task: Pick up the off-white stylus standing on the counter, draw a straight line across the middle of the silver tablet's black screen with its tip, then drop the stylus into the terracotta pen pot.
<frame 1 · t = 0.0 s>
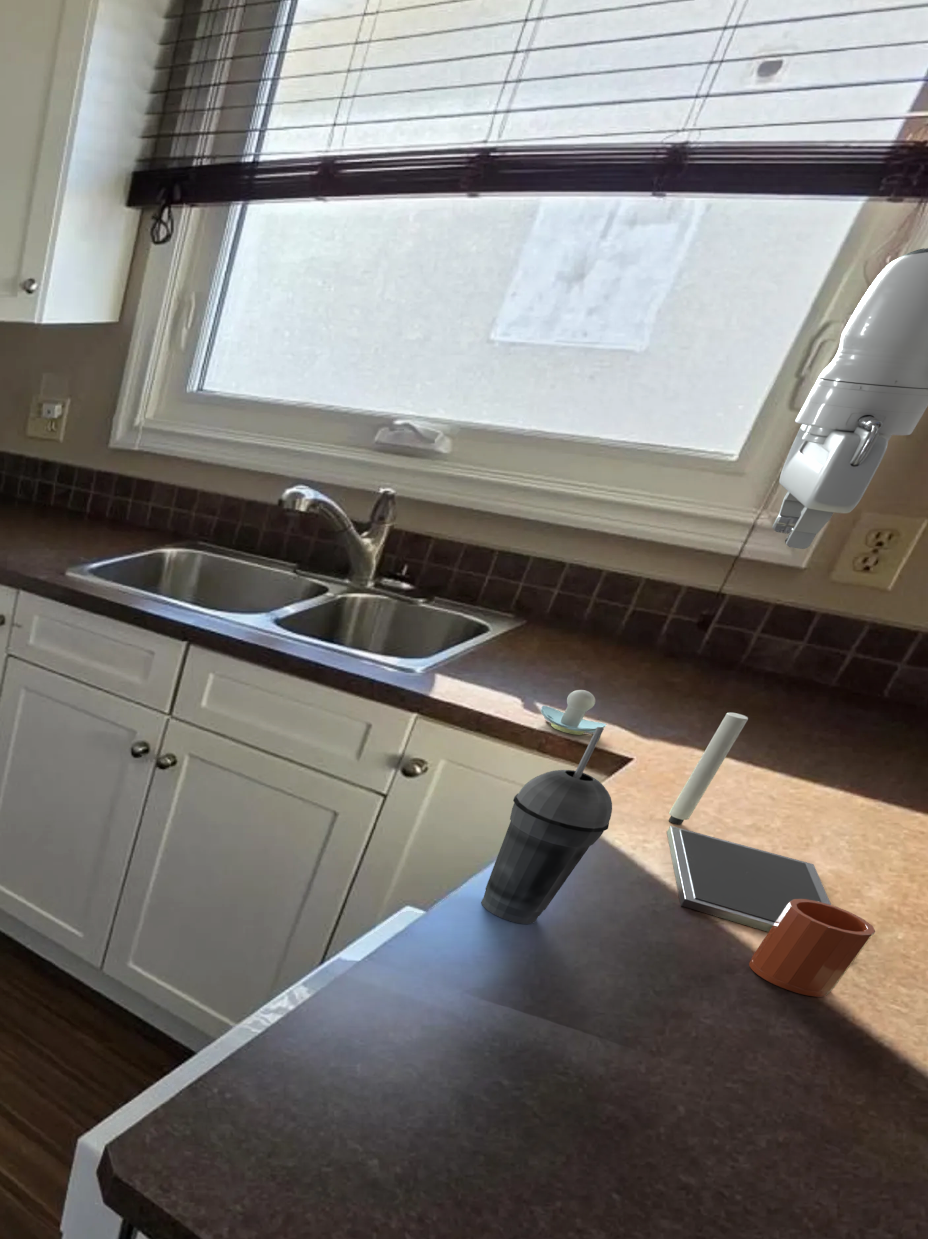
hand: (788, 539, 115), 32 cm above the worktop, tool pointing down, fingers open, 8 cm apart
pen pot: (788, 977, 94), on the worktop
pacifier: (567, 730, 144), on the worktop
tablet: (747, 887, 108), on the worktop
stylus: (675, 822, 121), on the worktop
beverage cup: (507, 912, 102), on the worktop
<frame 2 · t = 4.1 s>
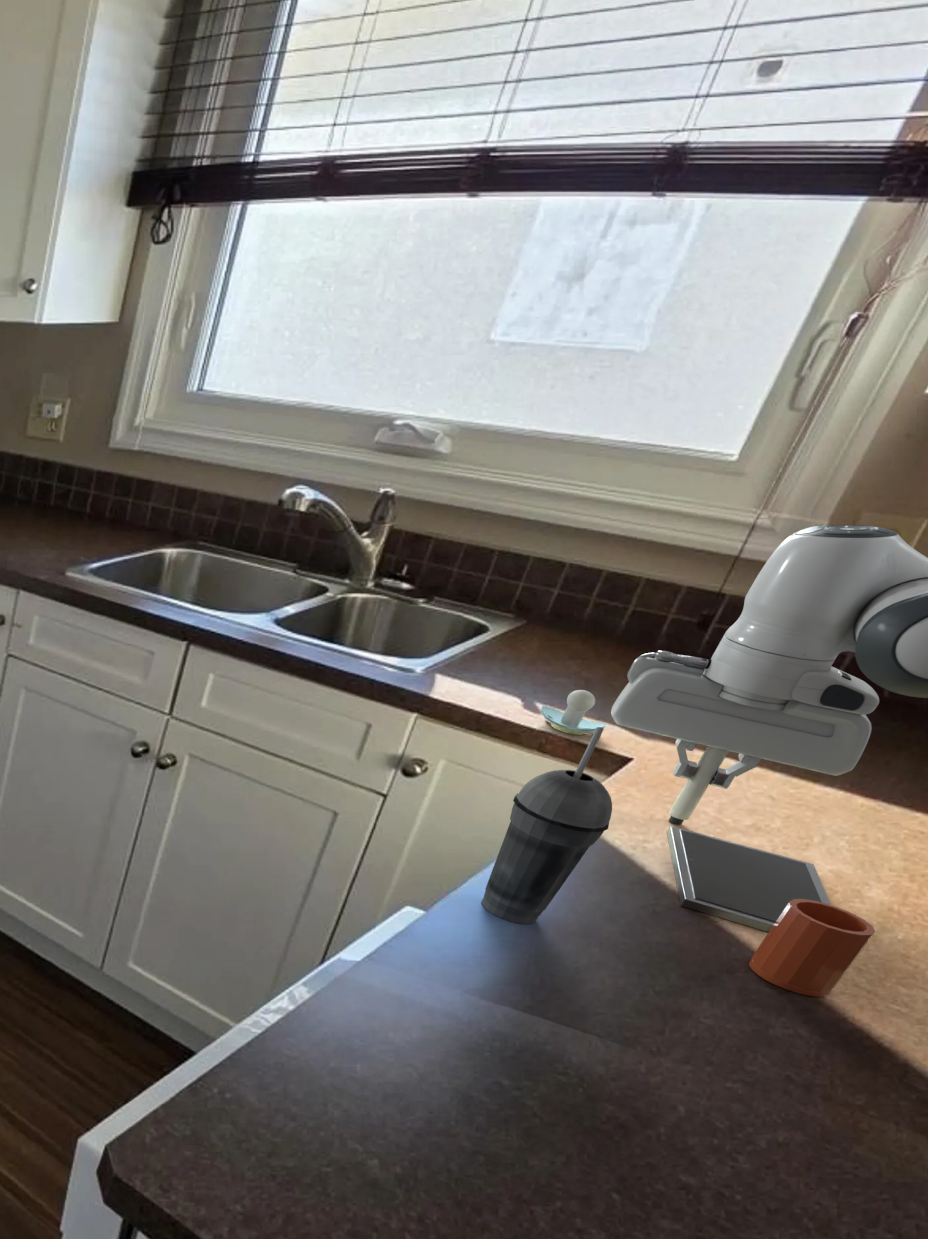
hand: (699, 780, 118), 6 cm above the worktop, tool pointing down, fingers closed on stylus, 2 cm apart
stylus: (675, 822, 121), on the worktop, touching gripper
everything else where it was.
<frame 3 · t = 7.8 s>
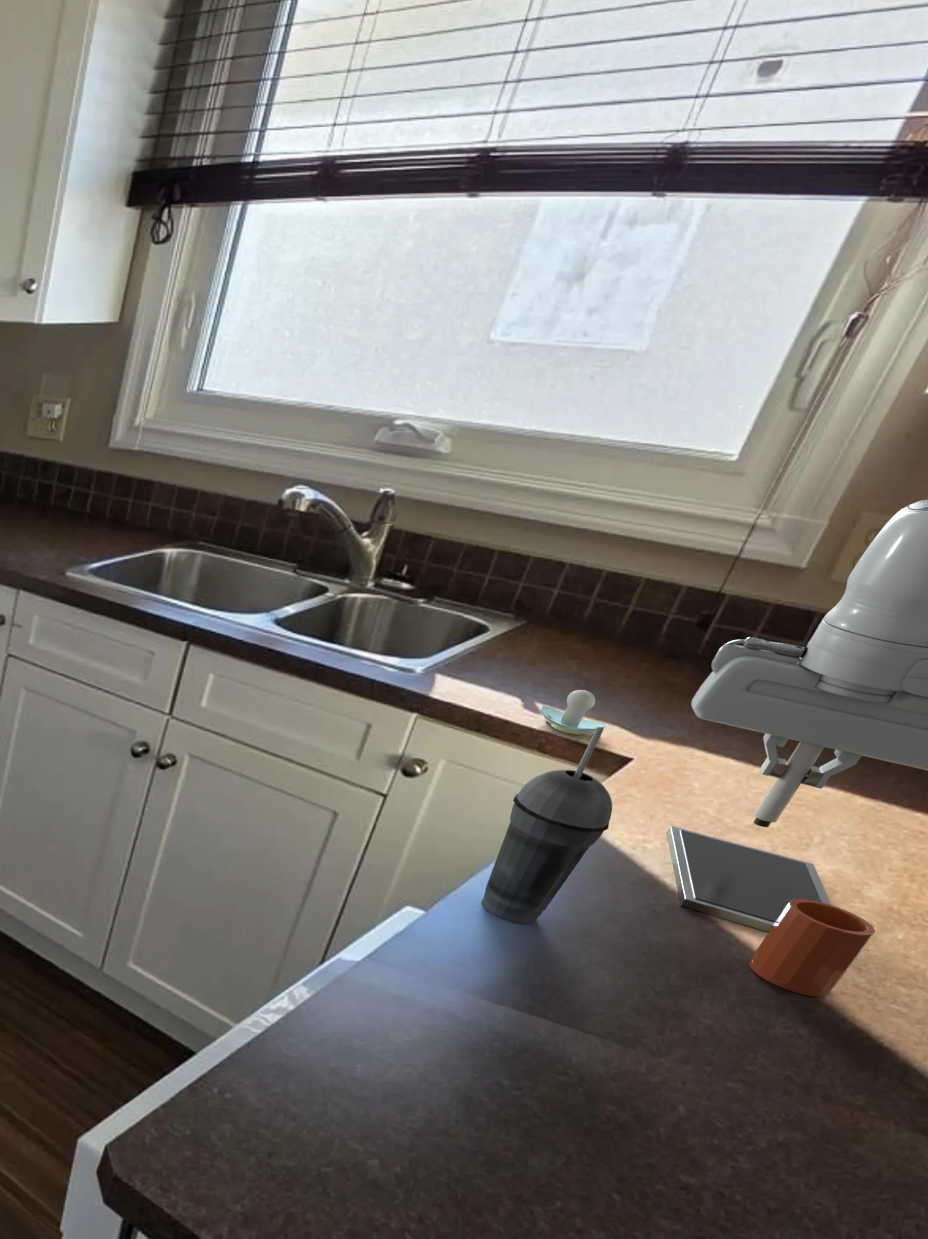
hand: (789, 779, 108), 10 cm above the worktop, tool pointing down, fingers closed on stylus
stylus: (760, 824, 111), point 5 cm above the worktop, touching gripper
everything else where it was.
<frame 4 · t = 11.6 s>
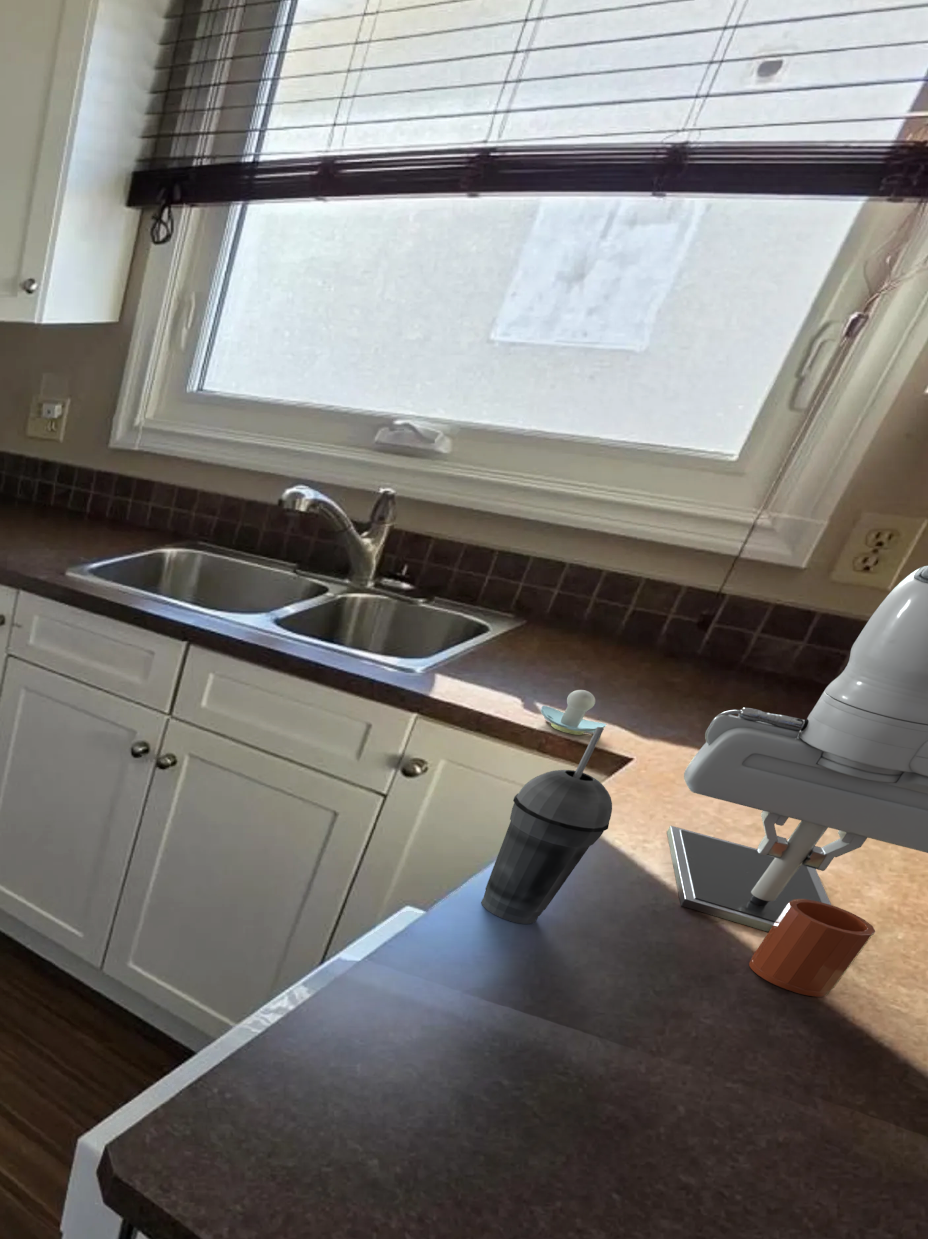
hand: (789, 860, 100), 7 cm above the worktop, tool pointing down, fingers closed on stylus, 2 cm apart
stylus: (758, 902, 104), point 1 cm above the worktop, tilted 6°, touching gripper
everything else where it was.
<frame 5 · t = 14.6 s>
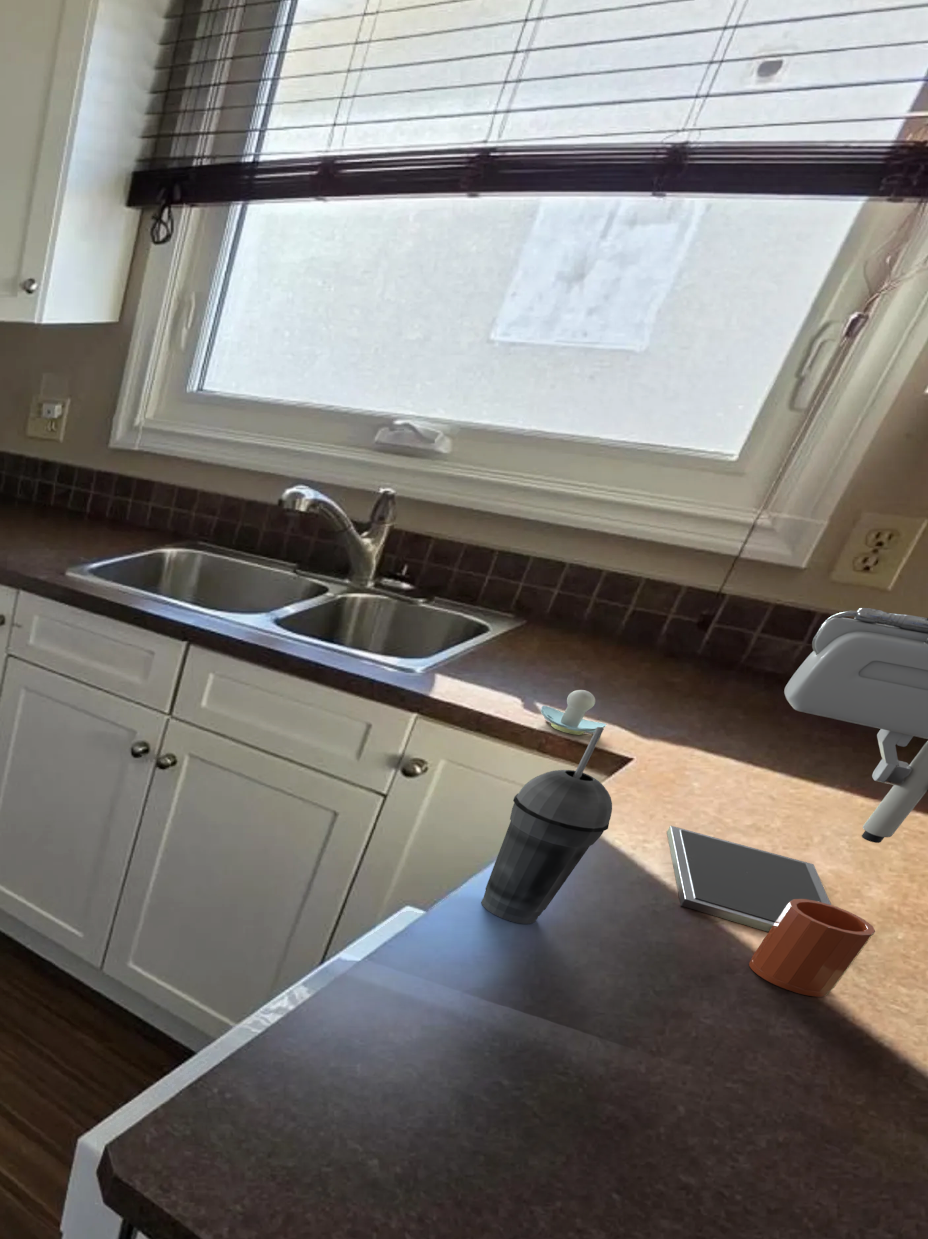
hand: (912, 787, 86), 20 cm above the worktop, tool pointing down, fingers closed on stylus
stylus: (871, 839, 89), point 14 cm above the worktop, tilted 6°, touching gripper
everything else where it was.
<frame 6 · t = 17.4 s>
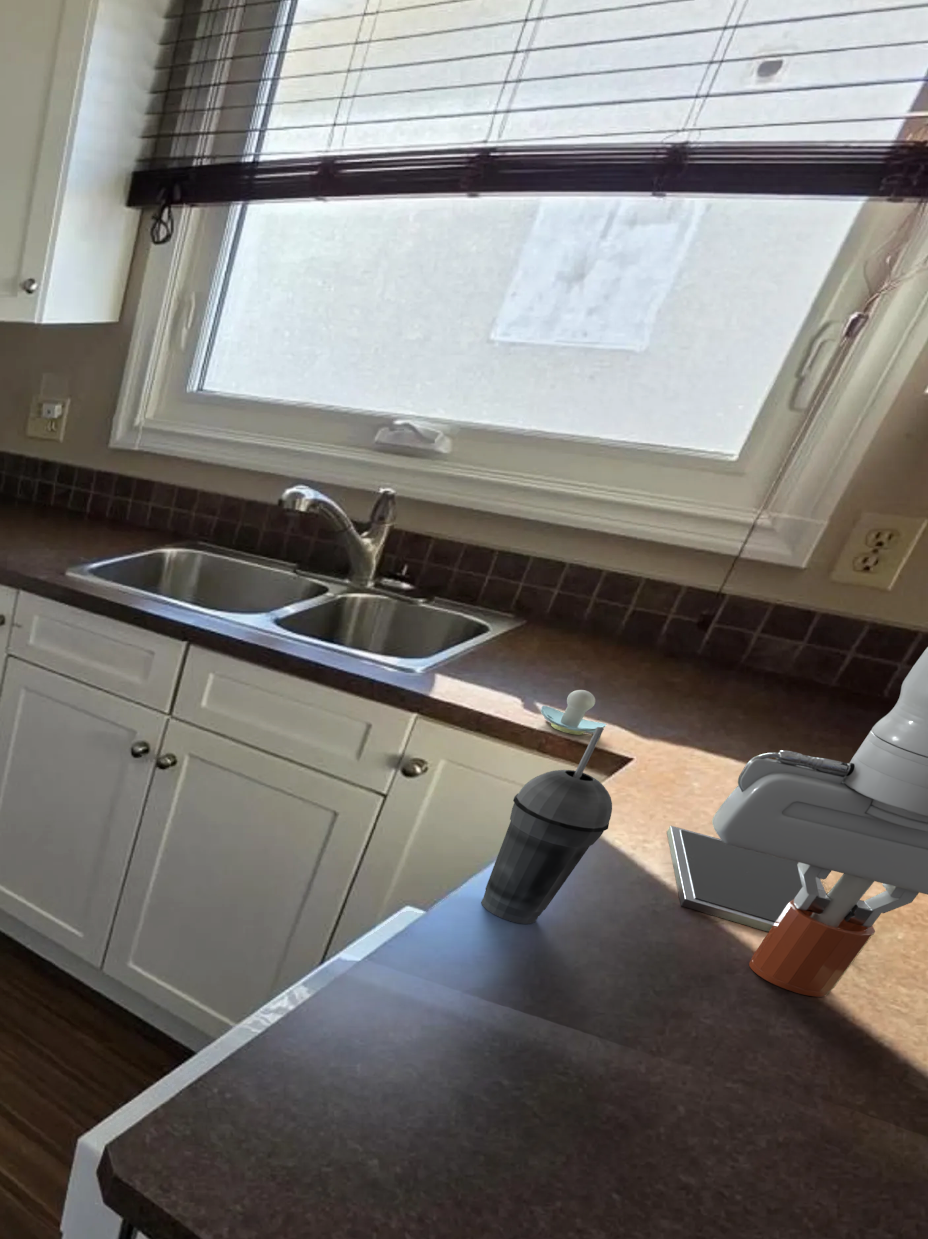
hand: (830, 915, 91), 7 cm above the worktop, tool pointing down, fingers closed, pressing on pen pot, stylus
stylus: (793, 959, 94), point 2 cm above the worktop, tilted 6°, touching gripper
everything else where it was.
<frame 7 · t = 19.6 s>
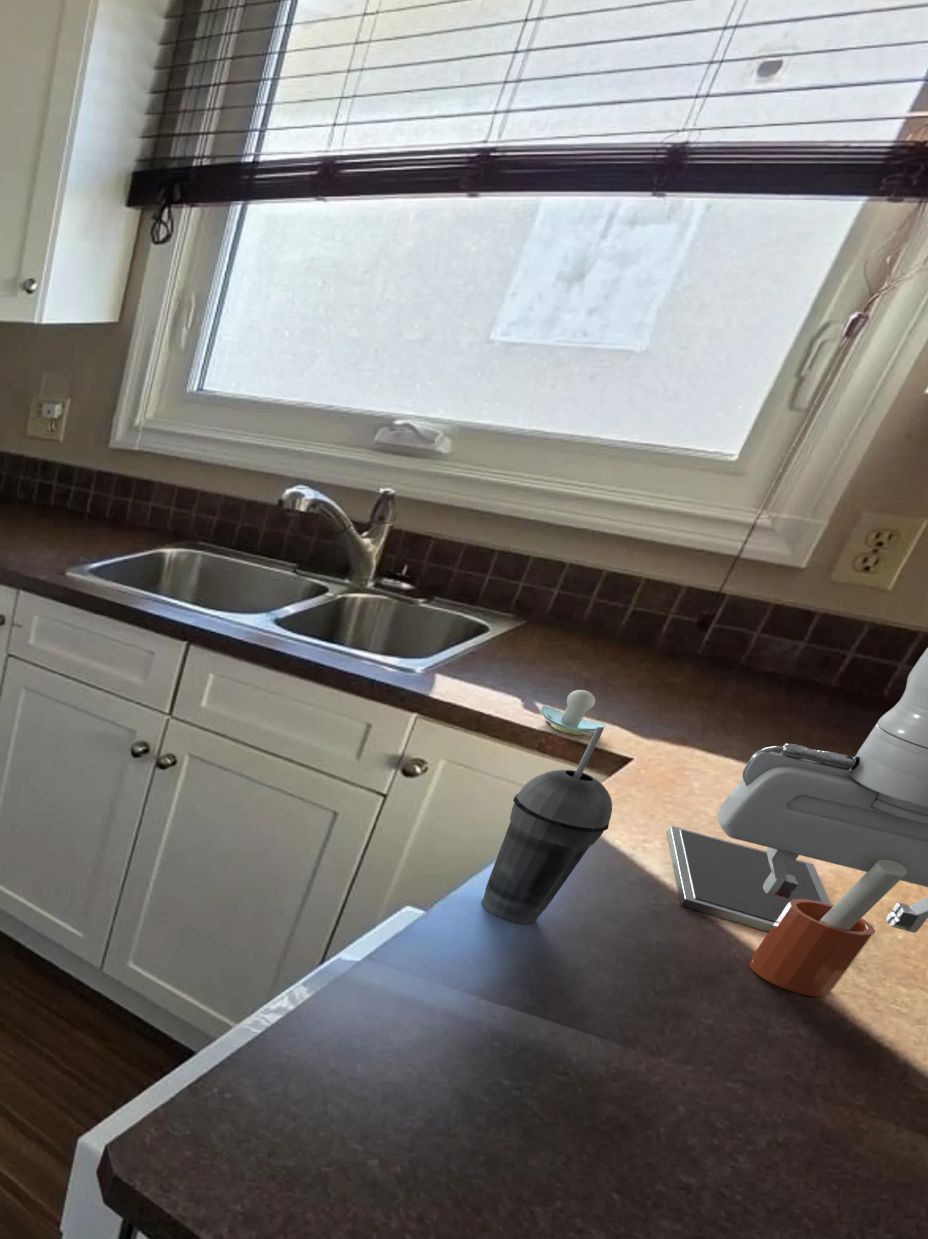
hand: (835, 909, 91), 8 cm above the worktop, tool pointing down, fingers open, 7 cm apart
stylus: (791, 967, 94), point 1 cm above the worktop, tilted 18°, touching pen pot
everything else where it was.
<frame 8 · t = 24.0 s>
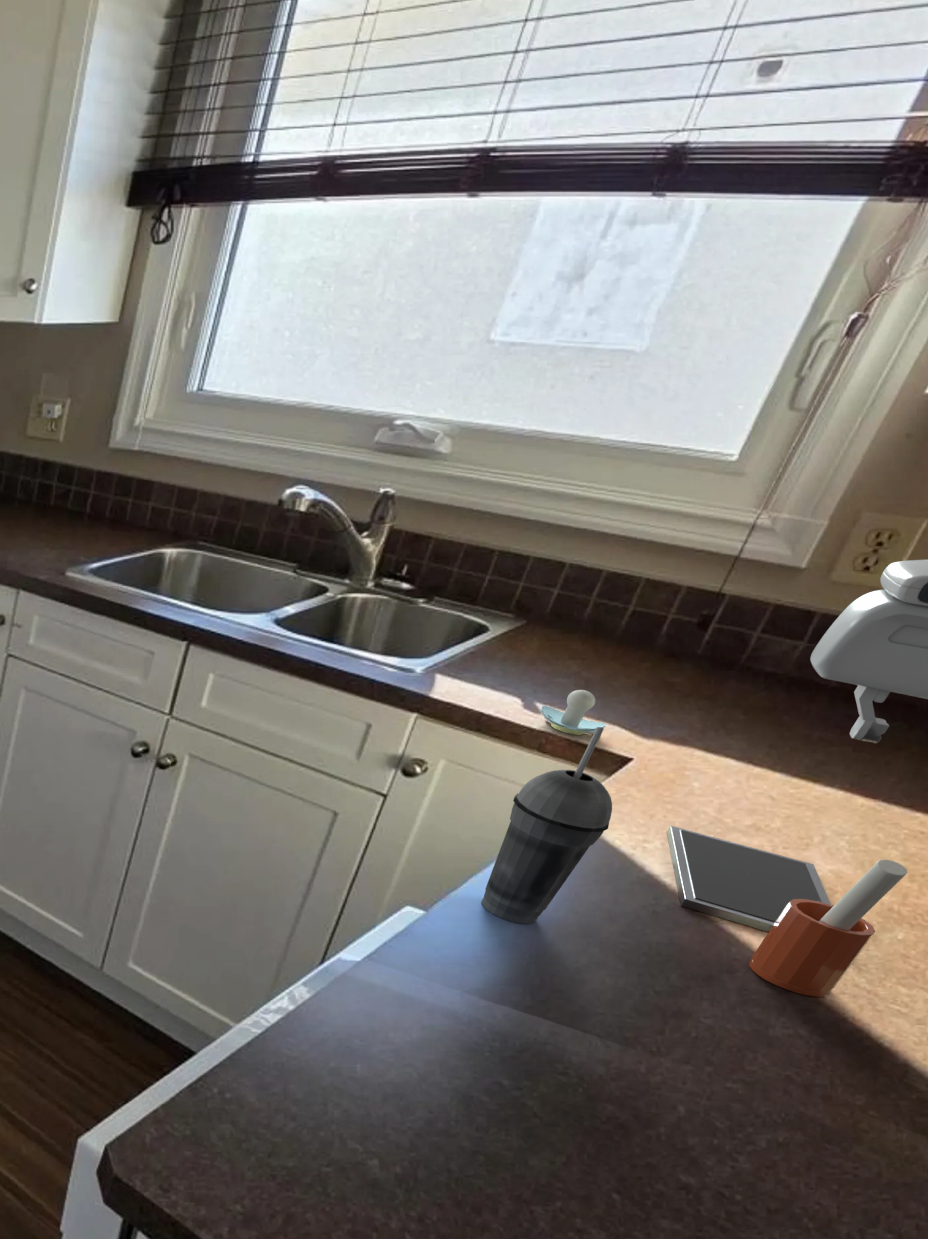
nothing on the worktop moved.
at the end: stylus 0.8 cm off-centre in the pen pot, point 0.8 cm above the pen pot's base; stylus tilted 18°; the gripper is holding nothing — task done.
